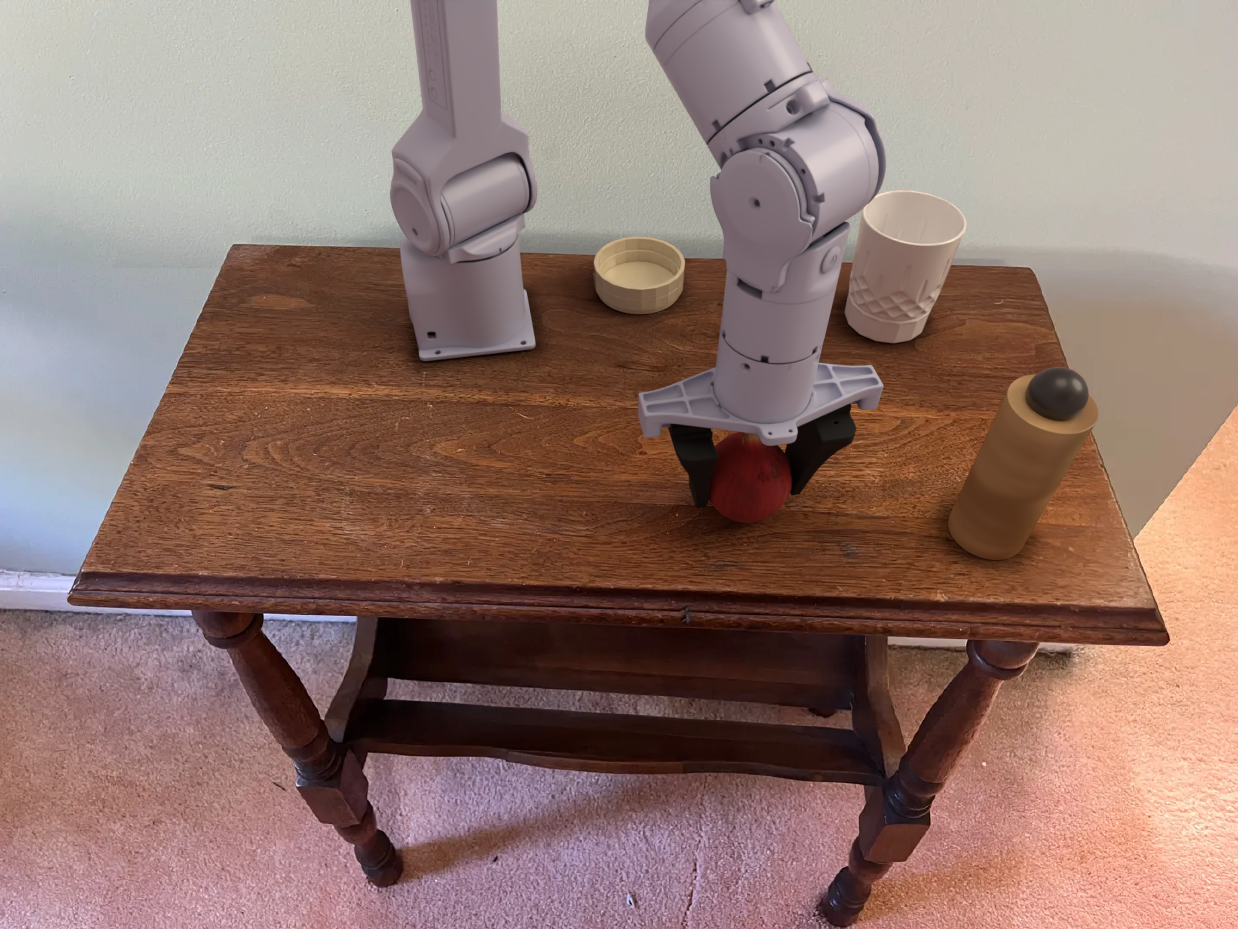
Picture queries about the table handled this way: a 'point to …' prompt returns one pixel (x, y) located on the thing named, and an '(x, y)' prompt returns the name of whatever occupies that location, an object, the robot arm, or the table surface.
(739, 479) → the onion
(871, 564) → the table surface
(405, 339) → the table surface
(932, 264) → the white cup
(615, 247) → the bowl
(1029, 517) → the pepper mill
